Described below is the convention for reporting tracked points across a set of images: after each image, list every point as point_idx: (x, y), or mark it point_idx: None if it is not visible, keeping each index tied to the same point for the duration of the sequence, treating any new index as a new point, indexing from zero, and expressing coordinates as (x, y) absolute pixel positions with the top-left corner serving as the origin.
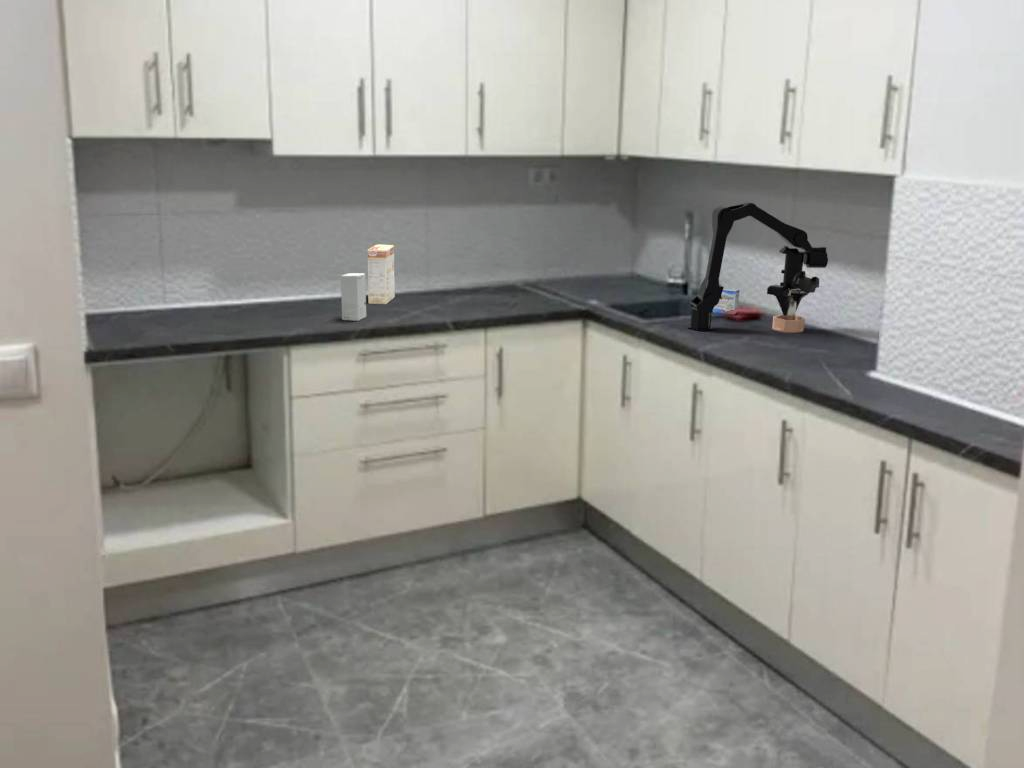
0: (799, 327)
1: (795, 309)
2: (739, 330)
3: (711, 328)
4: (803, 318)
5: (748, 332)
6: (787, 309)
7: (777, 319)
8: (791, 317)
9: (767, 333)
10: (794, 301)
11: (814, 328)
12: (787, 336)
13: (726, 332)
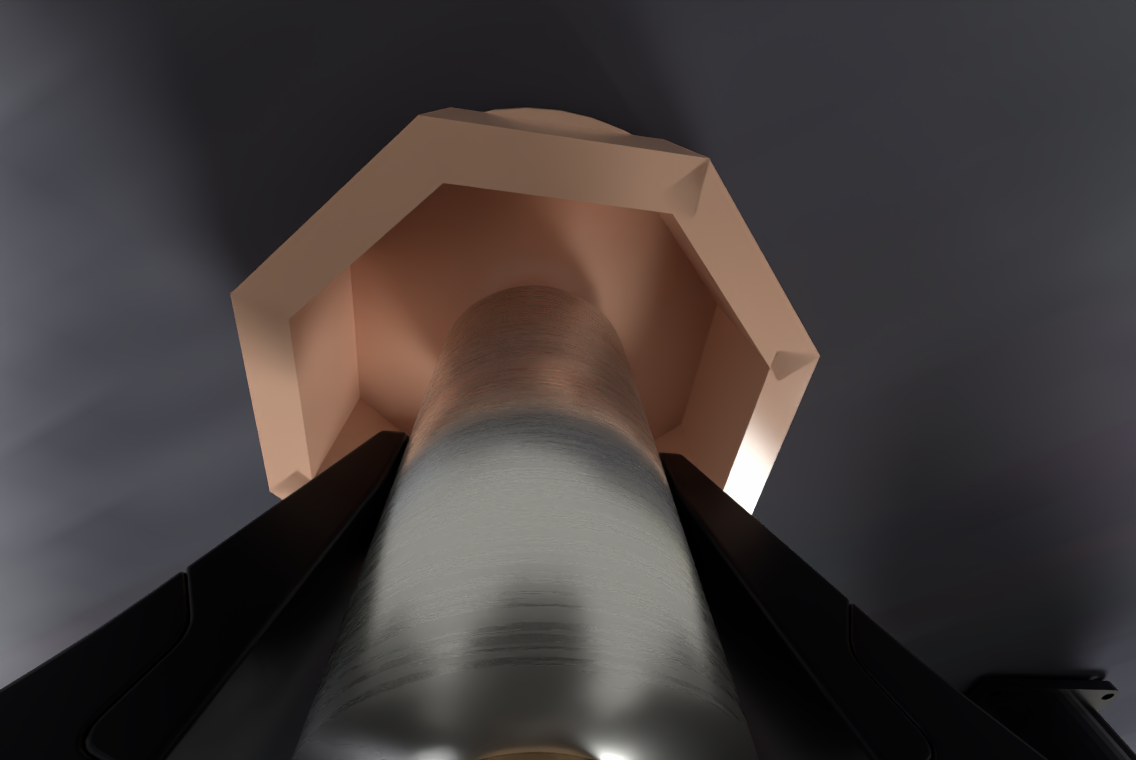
0: (596, 130)
1: (505, 441)
2: (910, 581)
3: (1024, 686)
4: (339, 207)
5: (968, 505)
6: (733, 531)
7: (757, 478)
8: (610, 362)
9: (924, 375)
10: (499, 720)
11: (53, 114)
12: (1012, 92)
13: (1058, 593)
